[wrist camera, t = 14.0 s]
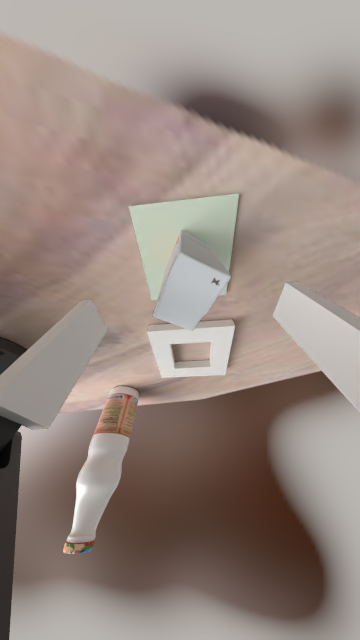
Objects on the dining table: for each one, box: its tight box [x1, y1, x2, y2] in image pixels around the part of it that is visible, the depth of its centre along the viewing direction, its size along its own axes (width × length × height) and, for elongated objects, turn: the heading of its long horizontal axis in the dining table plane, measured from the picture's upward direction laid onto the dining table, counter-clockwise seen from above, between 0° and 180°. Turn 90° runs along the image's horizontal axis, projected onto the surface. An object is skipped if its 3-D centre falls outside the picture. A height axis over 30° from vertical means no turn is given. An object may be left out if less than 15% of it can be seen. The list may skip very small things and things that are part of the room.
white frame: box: [147, 320, 235, 378], centre depth 33 cm, size 17×17×2 cm
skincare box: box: [153, 230, 231, 331], centre depth 16 cm, size 6×4×12 cm
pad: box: [129, 193, 239, 301], centre depth 21 cm, size 13×13×1 cm
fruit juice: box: [63, 386, 139, 554], centre depth 36 cm, size 9×9×28 cm
